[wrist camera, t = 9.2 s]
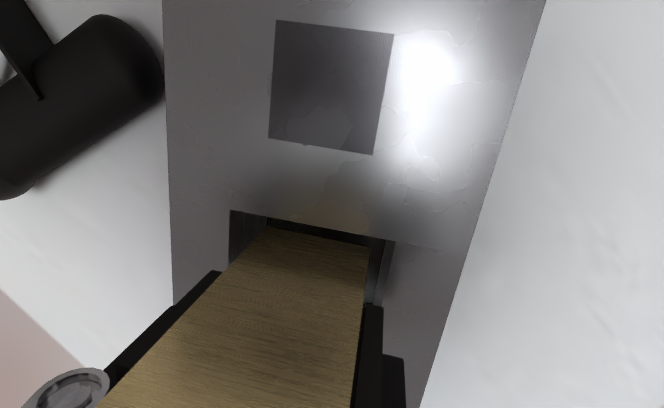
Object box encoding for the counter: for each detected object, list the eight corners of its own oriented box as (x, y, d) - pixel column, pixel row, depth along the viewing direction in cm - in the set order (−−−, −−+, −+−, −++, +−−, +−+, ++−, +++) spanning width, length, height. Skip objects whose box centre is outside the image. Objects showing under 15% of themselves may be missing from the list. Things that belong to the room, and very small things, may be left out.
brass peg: (266, 226, 12) (-106, 618, 3) (370, 247, 12) (301, 783, 3) (259, 312, 14) (-17, 770, 4) (352, 334, 13) (265, 896, 4)
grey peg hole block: (228, -10, 13) (157, -55, 9) (497, 21, 11) (552, -15, 8) (219, 380, 19) (177, 451, 15) (387, 423, 18) (387, 511, 14)
